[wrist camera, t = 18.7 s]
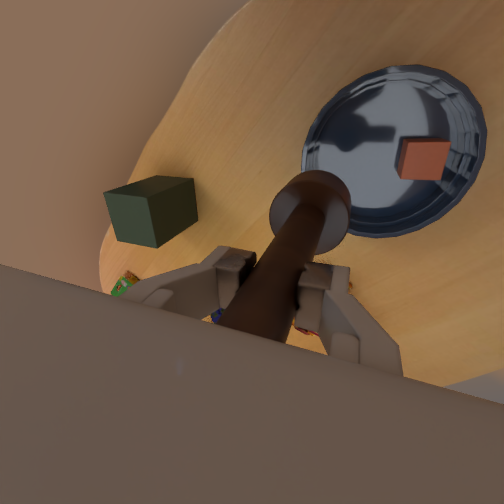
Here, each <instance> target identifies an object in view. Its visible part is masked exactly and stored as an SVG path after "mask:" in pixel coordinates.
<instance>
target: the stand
mask: <svg viewBox="0 0 504 504" xmlns="http://www.w3.org/2000/svg"><path fill="white" fill-rule="evenodd" d="M103 194H104V197H105V200H106V204H107V207H108V210H109V214H110V218H111V221H112V225H113V228H114V231H115V235H116V238H117V241H121V242H126V243H131V244H136V245H142V246H147V247H152V248H159V247H160V246H162V245H163V244H165V243H166V242H168V241H169V240H171V239H172V238H174V237H175V236H176V235H178V234H179V233H181V232H182V231H184V230H185V229H187V228H188V227H190V226H191V225H193V224H194V223H196V222H197V221H198V215H197V207H196V198H195V190H194V181H193V179H192V178H181V177H169V176H157V175H156V176H153V177H150V178H147V179H144V180H140V181H137V182H134V183H131V184H128V185H125V186H122V187H119V188H116V189H113V190H110V191H107V192H104V193H103Z"/></svg>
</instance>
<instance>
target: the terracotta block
mask: <svg viewBox="0 0 504 504" xmlns="http://www.w3.org/2000/svg"><path fill="white" fill-rule="evenodd" d="M450 146H451V141H448V140H445V139H443V138H423V139H404V140H403V145H402V149H401V154H400V159H399V164H398V169H397V174H398V175H399V177H400V179H411V180H441V177H442V173H443V170H444V166H445V163H446V159H447V156H448V153H449V149H450Z"/></svg>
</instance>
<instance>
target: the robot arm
mask: <svg viewBox="0 0 504 504" xmlns="http://www.w3.org/2000/svg"><path fill="white" fill-rule="evenodd" d="M256 262H257V260H256V253H255V252H252V251H247V250H242V249H237V248H231V247H226V246H218V247H217V248H216V249H215V250H214V251H213V252H212V253H211V254H210V255H208V256H207V257H206V258H205V259H204V260H203V261H202V262H201V263H200V264H197V263H196V264H192V265H189V266H186V267H183V268H179V269H176V270H173V271H170V272H166V273H163V274H160V275H157V276H153V277H150V278H147V279H144V280H141V281H138V282H137V283H135V284H134V285H133V286H131V287H130V288H129V289H127V290H126V291H125V292H124V293H122V294H121V295H120V296H118V297H116V296H113V295H109V294H105V293H102V292H98V291H95V290H91V289H88V288H84V287H80V286H77V285H73V284H70V283H66V282H62V281H59V280H55V279H52V278H48V277H44V276H41V275H37V274H34V273H30V272H26V271H23V270H19V269H15V268H12V267H8V266H5V265H1V264H0V504H504V404H500V403H497V402H493V401H489V400H486V399H482V398H479V397H475V396H472V395H468V394H464V393H461V392H457V391H454V390H450V389H446V388H443V387H439V386H436V385H432V384H428V383H425V382H421V381H418V380H414V379H411V378H407V377H403V370H402V363H401V357H400V350H399V345H398V344H397V343H396V342H395V341H394V340H393V339H392V338H391V337H390V336H389V334H388V333H387V332H386V331H385V330H384V329H383V328H382V327H381V326H380V325H379V323H378V322H377V321H376V320H375V319H374V318H373V317H372V316H371V315H370V314H369V312H368V311H367V310H366V309H365V308H364V307H363V306H362V305H361V304H360V303H359V302H358V300H357V299H356V298H355V297H354V296H353V295H351V294H348V288H349V275H350V268H349V267H343V266H336V265H335V267H334V265H330V264H323V263H316V262H309V261H306V263H305V266H304V272H302V274H301V276H300V279H299V282H298V288H297V298H296V301H297V302H298V306H297V309H296V313H295V321H294V326H296V327H299V328H303V329H306V330H310V331H313V332H317V333H318V335H319V337H320V339H321V341H322V343H323V346H324V348H325V350H326V352H327V354H328V355H324V354H321V353H317V352H314V351H310V350H306V349H303V348H299V347H296V346H292V345H288V344H285V343H281V342H278V341H274V340H270V339H267V338H263V337H260V336H256V335H253V334H249V333H245V332H242V331H238V330H235V329H231V328H227V327H224V326H220V325H217V324H213V323H209V322H206V321H202V320H201V319H203V318H205V317H206V316H208V315H210V314H211V313H213V312H215V311H217V310H218V309H219V308H223V309H226V307H227V306H228V305H229V303H230V302H231V300H232V299H233V297H234V296H235V294H236V293H237V291H238V290H239V289H240V287H241V286H242V284H243V283H244V281H245V280H246V278H247V277H248V275H249V274H250V272H251V271H252V270H253V268H254V265H255V264H256ZM333 270H334V271H333ZM332 276H333V277H332Z"/></svg>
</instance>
